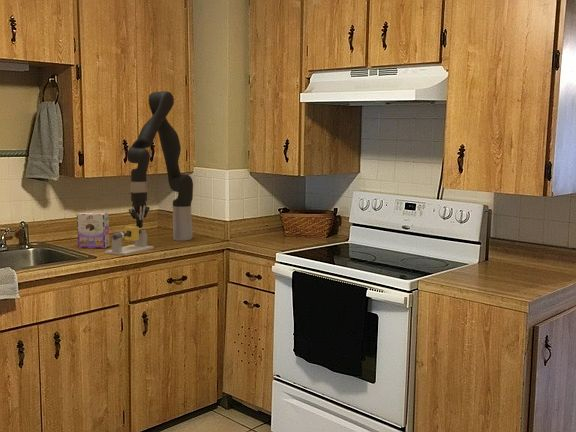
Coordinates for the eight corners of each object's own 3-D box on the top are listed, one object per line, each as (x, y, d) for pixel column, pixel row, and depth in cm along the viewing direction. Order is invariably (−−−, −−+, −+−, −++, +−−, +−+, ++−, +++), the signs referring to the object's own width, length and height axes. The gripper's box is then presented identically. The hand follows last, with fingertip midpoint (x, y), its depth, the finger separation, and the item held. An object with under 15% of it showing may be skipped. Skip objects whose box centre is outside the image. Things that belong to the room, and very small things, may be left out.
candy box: (110, 246, 330) (109, 212, 328) (104, 248, 324) (103, 214, 322) (83, 245, 333) (82, 211, 331) (77, 247, 327) (76, 213, 325)
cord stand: (133, 246, 332) (133, 226, 330) (153, 248, 326) (153, 228, 325) (105, 253, 314) (104, 232, 313) (125, 255, 308) (125, 234, 307)
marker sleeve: (130, 238, 324) (129, 225, 323) (139, 239, 321) (138, 226, 320) (124, 239, 320) (124, 226, 319) (133, 240, 318) (133, 227, 317)
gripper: (141, 189, 331) (142, 225, 333) (123, 191, 319) (124, 228, 321) (154, 190, 327) (154, 226, 329) (136, 192, 316) (136, 230, 318)
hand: (139, 227), depth 325 cm, fingers closed
